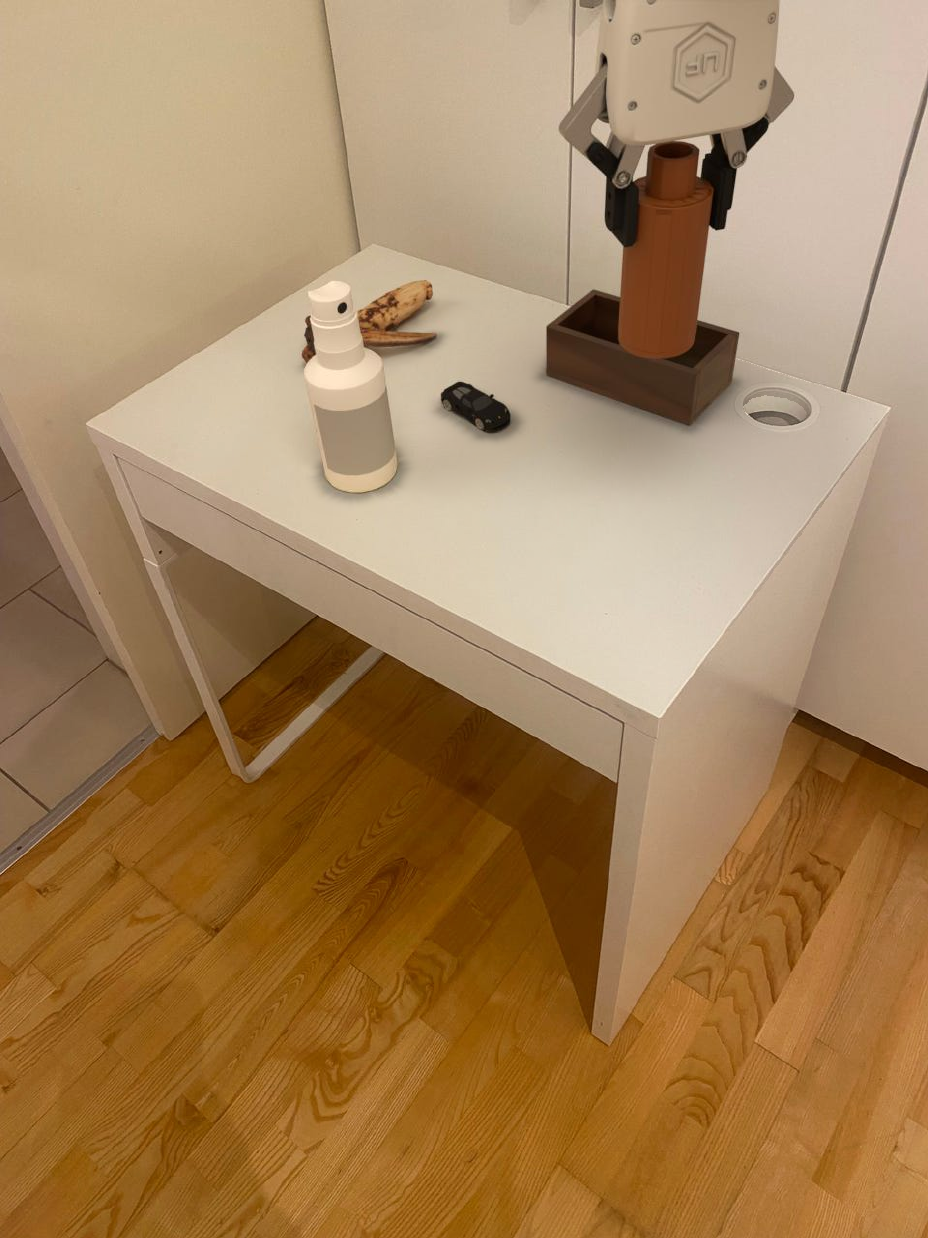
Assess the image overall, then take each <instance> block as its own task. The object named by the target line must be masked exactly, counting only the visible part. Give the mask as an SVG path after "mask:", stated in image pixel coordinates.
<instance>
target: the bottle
mask: <svg viewBox="0 0 928 1238" xmlns="http://www.w3.org/2000/svg"><path fill="white" fill-rule="evenodd" d="M699 158H700V148H699V147H698V146H697V145H695V144H693V143H690V142H687V141H682V140H676V141H670V142H664V143H658V144H652V145H650V146H649V149H648V150H647V159H646V170H645V171H646V173H645V175H644V176H641V177H638V178H636V179H635V180H633V182H634V183H635V184H636V185H637V186H638V188H639V202H638V216H637V230H636V242H635V244H633V246H630V247H624V246H623V245H622V261H621V274H620V275H621V276H620V277H621V278H620V292H619V293H620V294H619V297H620V308H619V325H618V340H619V343H620V345H621V346H622V347H623V348H624V349H625V350H626V351H628V352H630V353H632V354H634V355H637V356H640V357H645V358H652V359H663V358H671V357H675V356H678V355H681V354H683V353H685V352H686V351H688V350H689V349H690V348H691V347H692V345H693V344H694V340H695V334H696V327H697V320H699V319H698V318H699V310H700V301H701V296H702V295H701V294H702V286H703V278H704V271H705V263H706V257H707V256H706V254H707V248H708V247H707V246H708V238H709V231H710V226H709V224H710V216H711V208H712V200H713V192H714V188H713V187H712V186H711V184H710V183H709V182H708V181H706V180H704V179H702V178H701V176H699V175H698V167H699Z"/></svg>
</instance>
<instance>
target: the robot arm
mask: <svg viewBox="0 0 928 1238" xmlns="http://www.w3.org/2000/svg"><path fill="white" fill-rule="evenodd" d="M779 20H780V0H603V1H602V6H601V13H600V19H599V28H598V36H597V38H598V39H597V45H596V56H595V57H596V58H595V69H594V70H595V71H594V77H593V78H592V79H591V81H590V82H589V83H588V85H587V86H586V87H585V88H584V91H583V92H582V93H581V94H580V96H579V97H578V98H577V100H576V101H575V102H574V104H573V105H572V107H571V108H570V109H569V111H568V112H567V113H566V115H565V116H564V117H563V119H562V120H561V121H560V123H559V125H558V132H559V134H560V136H562V137H563V139H564V140H565V141H566V142H567V143H569V144H570V145H571V146H572V147H573V148H574V149H575V150H576V151H577V152H579V154H581V155H582V156H584V157H585V158H586V159H587V160H588V161H589V162H590V163H591V164H592V165H593V166H594V167H596V169H597V170H598V171H599V172H601V173H602V175H604V176H605V197H604V198H605V199H604V223H605V227H606V229H607V230H608V231H609V232H611V233H612V235H613V236H614V237H615V238H616V239H617V241H618V242H619V243H620V244H621V245H622V247H623V246H624V247H630V246H633V244H635V242H636V230H637V216H638V202H639V188H638V186H637V185H636V184H635V183H634V182H633V181H634V175H635V173H636V170H637V169H638V165H639V163H640V160H641V157H642V154H643V153H644V149H645V147H646V146H652V145H655V144H658V143H664V142H670V141H682V140H687V139H693V138H699V137H705V136H709V140H710V146H711V150H710V152H708V153H705V154H704V157H703V158H702V162H701V169H700V170H701V171H700V178H702V179H704V180H706V181H708V182H709V183H710V184H711V186H712V187H713V188H714V192H713V200H712V208H711V216H710V224H709V228H711V229H713V230H715V231H722V230H725V228H726V225H727V217H728V212H729V211H730V210H731V209H732V206H733V200H734V194H735V193H734V192H735V186H736V181H737V180H736V179H737V171H738V169H740V168H741V167H742V166H744V165H745V164H746V162H747V159H748V153H749V152H750V151H751V150H752V149H753V147H755V145H756V144H757V143H758V142H759V141H760V140H761V139H762V137H764V135H765V134H766V133H767V132H768V129H769V126H770V124H771V123H774V122H775V121H776V120H777V119H778V118H779V117H780V116H781V115H782V114H783V113H784V111H785V110H786V109H787V108H788V107H789V106H790V105H791V104H792V103H793V101H794V98H795V93H794V92H795V91H794V90H793V89H792V88H791V86H790V84H789V83H788V82H787V81H786V79H785V78H784V76H783V74H782V73H781V72H780V71H779V69H778V67H776V58H777V57H776V56H777V48H778V33H779ZM597 120H599V121H601V122H602V123H604V124H608V125H609V129H610V133H609V135H608V138H607V141H606V144H604V143H603V142H602V141H601V140H600V139H599V138H597V136H595V134H593V133H592V127H593V125H594V124H595V122H596V121H597Z"/></svg>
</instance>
